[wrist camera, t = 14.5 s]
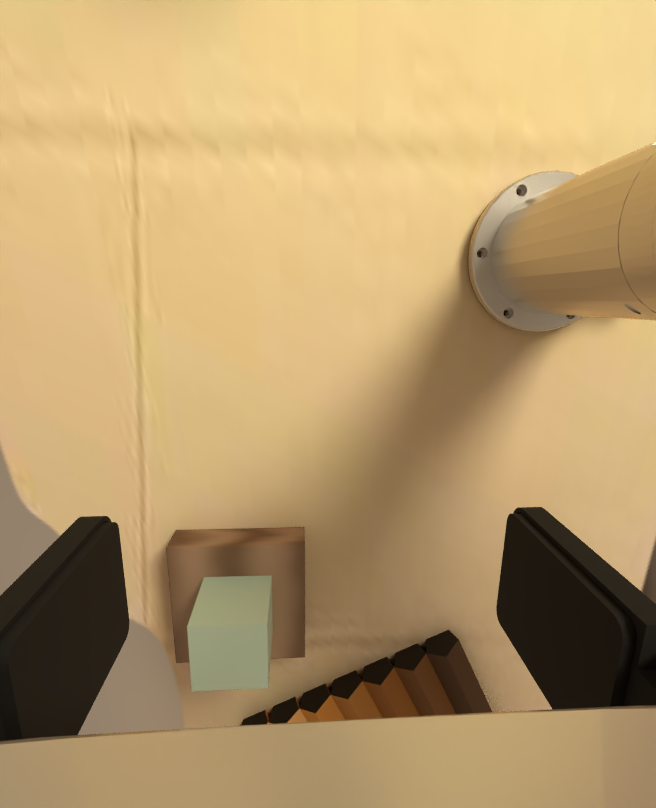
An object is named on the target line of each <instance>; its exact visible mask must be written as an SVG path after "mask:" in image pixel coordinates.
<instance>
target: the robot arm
mask: <svg viewBox="0 0 656 808" xmlns="http://www.w3.org/2000/svg"><path fill="white" fill-rule="evenodd" d="M516 190H518V191H519V195H518V194H517V192H516ZM477 251H479V252H480V254H481V255H480V257H478V256H477ZM468 264H469V275H470V279H471V283H472V287H473V289H474V292H475V294H476V296H477V298H478V300H479V301H480V303H481V304H482V306H483V307H484V308H485V310H486V311H487V312H488V313H489V314H491V315H492V316H493V317H494V318H495V319H496V320H498V321H500V322H501V323H503V324H505V325H507V326H509V327H513V328H516V329H519V330H525V331H549V330H554V329H558V328H561V327H563V326H566V325H569V324H571V323H573V322H574V321H576V320H577V319H579V318H581V317H582V316H592V317H609V318H626V319H642V320H656V142H654V143H652V144H650V145H647V146H645V147H643V148H641V149H638V150H636V151H634V152H631V153H629V154H627V155H625V156H622V157H620V158H618V159H616V160H613V161H611V162H609V163H606V164H604V165H602V166H600V167H597V168H595V169H593V170H591V171H588V172H586V173H584V174H581V175H576V174H573V173H570V172H563V171H546V172H540V173H536V174H533V175H529V176H527V177H525V178H523V179H521V180H519V181H517V182H515V183H513V184H512V185H510V186H509V187H507V188H506V189H504V190H503V191H502V192H500V193H499V194H498V195H497V196H496V197H495V198H494V199H493V200H492V201H491V202H490V204H489V205H488V206H487V208H486V209H485V210H484V212H483V213H482V215H481V217H480V218H479V220H478V222H477V224H476V226H475V229H474V232H473V235H472V238H471V242H470V248H469V256H468ZM504 310H505V311H506V315H505V316H504V314H503V313H504ZM497 617H498V620H499V623H500V625H501V626H502V628H503V630H504V631H505V633H506V635H507V636H508V638H509V639H510V641H511V643H512V644H513V646H514V647H515V649H516V651H517V652H518V654H519V656H520V657H521V659H522V660H523V662H524V664H525V665H526V667H527V668H528V670H529V672H530V673H531V675H532V677H533V678H534V680H535V681H536V683H537V685H538V686H539V688H540V689H541V691H542V693H543V694H544V696H545V698H546V699H547V701H548V702H549V704H550V706H551V707H552V709H553V710H531V711H510V712H489V713H469V714H450V715H430V716H411V717H392V718H373V719H354V720H335V721H317V722H298V723H280V724H262V725H244V726H226V727H208V728H190V729H174V730H157V731H140V732H124V733H107V734H89V735H78V733H79V731H80V729H81V727H82V725H83V723H84V721H85V719H86V717H87V715H88V713H89V711H90V709H91V707H92V705H93V703H94V701H95V699H96V697H97V695H98V693H99V691H100V689H101V687H102V685H103V683H104V681H105V679H106V678H107V676H108V674H109V671H110V670H111V668H112V666H113V664H114V662H115V660H116V658H117V656H118V654H119V652H120V650H121V648H122V646H123V644H124V642H125V640H126V637H127V634H128V630H129V614H128V606H127V597H126V588H125V579H124V570H123V561H122V553H121V544H120V535H119V528H118V525H117V523H116V522H111V520H110V518H109V517H107V516H93V517H80V518H78V519H77V520H76V521H75V522H74V523H73V524H72V525H71V526H70V527H69V528H68V529H67V530H66V531H65V532H64V533H63V534H62V535H61V536H60V537H59V538H58V539H57V540H56V541H55V542H54V543H53V544H52V545H51V546H50V547H49V548H48V549H47V550H46V551H45V552H44V553H43V554H42V555H41V556H40V557H39V558H38V559H37V560H36V561H35V562H34V563H33V564H32V565H31V566H30V567H29V568H28V569H27V570H26V571H25V572H24V573H23V574H22V575H21V576H20V577H19V578H18V579H17V580H16V581H15V582H14V583H13V584H12V585H11V586H10V587H9V588H8V589H7V590H6V591H5V592H4V593H3V594H2V595H1V596H0V808H656V604H655V603H654V602H653V601H651V600H650V599H649V598H648V597H647V596H646V595H644V594H643V593H642V592H641V591H640V590H639V589H637V588H636V587H635V586H634V585H633V584H632V583H630V582H629V581H628V580H627V579H626V578H625V577H623V576H622V575H621V574H620V573H619V572H617V571H616V570H615V569H614V568H613V567H612V566H610V565H609V564H608V563H607V562H606V561H605V560H603V559H602V558H601V557H600V556H599V555H598V554H596V553H595V552H594V551H593V550H592V549H591V548H589V547H588V546H587V545H586V544H585V543H584V542H582V541H581V540H580V539H579V538H578V537H577V536H575V535H574V534H573V533H572V532H571V531H570V530H568V529H567V528H566V527H565V526H564V525H563V524H561V523H560V522H559V521H558V520H557V519H555V518H554V517H553V516H552V515H551V514H550V513H548V512H547V511H546V510H545V509H543V508H542V507H527V508H517V509H515V511H514V514H510V515H509V516H508V518H507V525H506V533H505V541H504V550H503V558H502V566H501V575H500V583H499V591H498V599H497Z"/></svg>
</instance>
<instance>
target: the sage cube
mask: <svg viewBox="0 0 656 808" xmlns="http://www.w3.org/2000/svg"><path fill="white" fill-rule="evenodd" d="M187 633H188V647H189V661H190V676H191V690H192V691H214V690H237V689H261V688H268V685H269V672H270V659H271V646H272V633H273V624H272V575H269V576H230V577H204V579H203V581H202V584H201V587H200V590H199V593H198V596H197V599H196V602H195V605H194V608H193V611H192V614H191V617H190V620H189V623H188V626H187Z"/></svg>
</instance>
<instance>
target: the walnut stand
mask: <svg viewBox="0 0 656 808" xmlns="http://www.w3.org/2000/svg"><path fill="white" fill-rule="evenodd" d="M166 550H167V561H168V573H169V585H170V596H171V608H172V620H173V632H174V643H175V655H176V663H183V662H190V661H189V647H188V633H187V626H188V623H189V620H190V617H191V614H192V611H193V608H194V605H195V602H196V599H197V596H198V593H199V590H200V587H201V584H202V581H203V579H204V577H230V576H269V575H272V624H273V633H272V646H271V659H275V658H299V657H305V542H304V527H295V528H252V529H209V530H176V531H175V533H174V535H173V537H172V539H171V540H170V542H169V544H168V546H167V548H166Z"/></svg>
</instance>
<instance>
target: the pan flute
mask: <svg viewBox="0 0 656 808" xmlns="http://www.w3.org/2000/svg"><path fill="white" fill-rule="evenodd" d="M489 712H492V711H491V708H490V706H489V704H488V702H487V700H486V698H485V696H484V693H483V691H482V689H481V687H480V685H479V683H478V680H477V678H476V676H475V674H474V672H473V670H472V668H471V665H470V663H469V661H468V659H467V657H466V655H465V653H464V650H463V648H462V646H461V644H460V642H459V640H458V639H457V638H456V637H455V636H454V635H453V634H452V633H451V632H450V631H449V630H447V631H445V632H443V633H440V634H438V635H436V636H433V637H431V638H429V639H427V640H426V653H425V652H424V650H423V649H422V648H421V647H420V646H419V645H418V644H415V645H413V646H410V647H408V648H406V649H404V650H401V651H399V652H397V653H395V663H394V666H393V665H392V664H391V662H390V661H389V660H388V658H387V657H385V658H383V659H381V660H378V661H376V662H374V663H372V664H369V665H367V666H365V667H364V674H363V680H361V678H360V676H359V675H358V673H357V671H353V672H351V673H349V674H346V675H344V676H342V677H340V678H337V679H335V680H334V682H333V687H332V691H331V692H330V691H329V689H328V687H327V686H326V684H323V685H321V686H319V687H317V688H314V689H312V690H310V691H307V692H305V693H304V694H303V697H302V701H301V705H300V704H299V702H298V701H297V699H296V698H295V697H294V698H291V699H289V700H287V701H285V702H282V703H280V704H278V705H275V706H273V709H272V712H271V715H270V717H269V716H268V714H267V712H266V711H265V710H264V711H262V712H259V713H257V714H255V715H253V716H250V717H248V718H246V719H243V722H242V725H241V726H244V725H262V724H280V723H298V722H317V721H335V720H354V719H373V718H392V717H411V716H430V715H450V714H469V713H489Z"/></svg>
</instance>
